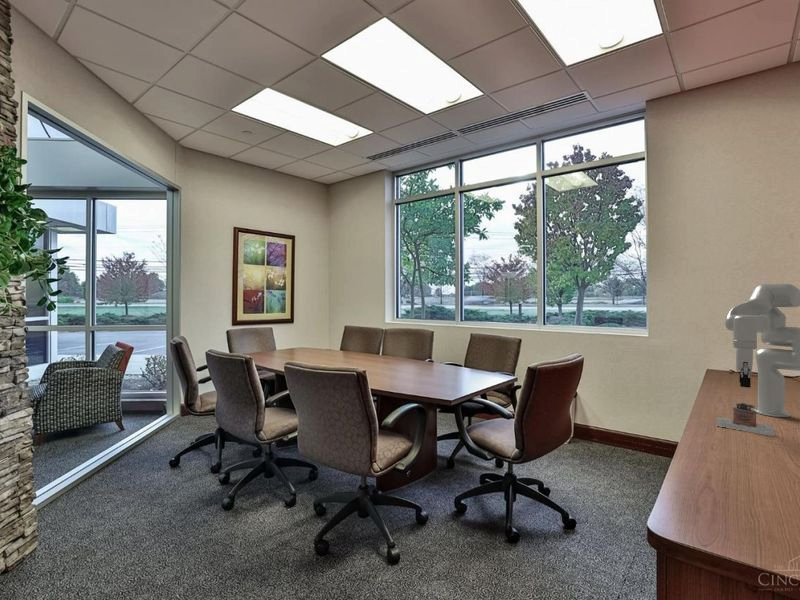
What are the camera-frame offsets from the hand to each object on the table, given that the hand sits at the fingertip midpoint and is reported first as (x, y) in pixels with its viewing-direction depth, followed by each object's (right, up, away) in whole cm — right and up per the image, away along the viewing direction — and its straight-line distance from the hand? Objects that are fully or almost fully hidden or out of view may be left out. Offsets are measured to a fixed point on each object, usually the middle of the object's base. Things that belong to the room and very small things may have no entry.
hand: (744, 385), depth 168 cm
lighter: (0, -18, 0) cm, 18 cm away
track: (-1, -18, 0) cm, 18 cm away
